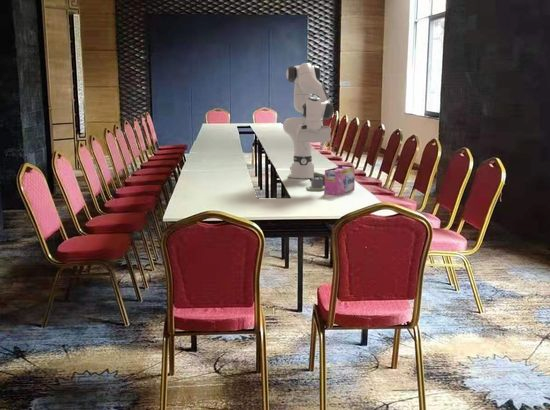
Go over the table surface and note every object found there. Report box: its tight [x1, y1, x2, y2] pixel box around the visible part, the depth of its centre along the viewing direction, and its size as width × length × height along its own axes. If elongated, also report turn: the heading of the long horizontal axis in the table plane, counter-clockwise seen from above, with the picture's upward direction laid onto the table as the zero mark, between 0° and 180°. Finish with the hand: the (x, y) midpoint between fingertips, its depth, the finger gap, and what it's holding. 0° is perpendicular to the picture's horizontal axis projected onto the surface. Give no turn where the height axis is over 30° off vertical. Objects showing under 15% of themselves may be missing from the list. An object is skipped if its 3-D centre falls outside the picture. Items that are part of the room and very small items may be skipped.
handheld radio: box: [308, 171, 325, 186], centre depth 367 cm, size 7×3×25 cm
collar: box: [310, 177, 323, 188], centre depth 350 cm, size 6×6×5 cm
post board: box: [306, 178, 325, 192], centre depth 348 cm, size 8×16×6 cm, turn 95°
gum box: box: [323, 165, 356, 196], centre depth 341 cm, size 24×8×14 cm, turn 146°
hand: (313, 149), depth 349 cm, fingers open, 8 cm apart
